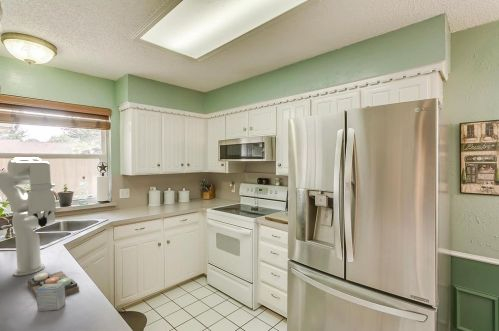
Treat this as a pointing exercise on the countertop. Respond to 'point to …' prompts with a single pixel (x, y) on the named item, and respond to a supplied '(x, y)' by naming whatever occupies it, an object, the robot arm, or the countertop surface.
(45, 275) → the cream button
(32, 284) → the button panel
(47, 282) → the terracotta button
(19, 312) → the countertop surface
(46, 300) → the medicine box
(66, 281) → the sage button
